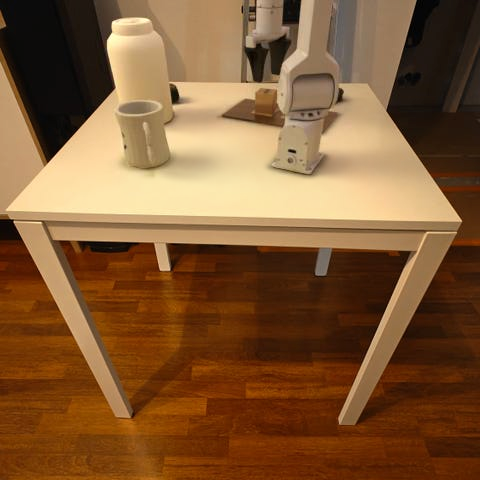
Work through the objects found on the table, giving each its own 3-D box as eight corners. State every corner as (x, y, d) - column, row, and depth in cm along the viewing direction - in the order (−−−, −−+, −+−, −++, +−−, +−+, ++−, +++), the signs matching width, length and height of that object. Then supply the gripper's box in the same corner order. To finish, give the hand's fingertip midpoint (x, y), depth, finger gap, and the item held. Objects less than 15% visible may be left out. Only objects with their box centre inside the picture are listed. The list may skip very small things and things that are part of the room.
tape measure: (155, 106, 97) (152, 90, 94) (153, 98, 102) (151, 83, 99) (180, 104, 98) (178, 88, 95) (177, 96, 103) (176, 81, 100)
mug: (123, 153, 76) (110, 102, 69) (165, 147, 78) (158, 96, 71) (132, 180, 68) (119, 125, 60) (179, 172, 70) (172, 118, 63)
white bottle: (136, 132, 84) (114, 27, 70) (115, 117, 91) (91, 18, 77) (183, 120, 89) (171, 20, 75) (159, 106, 96) (145, 13, 82)
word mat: (321, 133, 83) (321, 131, 82) (221, 116, 91) (221, 114, 90) (337, 114, 91) (337, 111, 91) (245, 100, 100) (245, 98, 99)
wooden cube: (272, 114, 90) (273, 94, 87) (254, 112, 91) (255, 92, 88) (276, 108, 93) (277, 88, 90) (259, 107, 94) (260, 87, 91)
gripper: (272, 1, 83) (269, 69, 92) (234, 9, 75) (235, 82, 84) (299, 3, 80) (293, 73, 89) (262, 11, 72) (259, 87, 81)
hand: (266, 78), depth 87 cm, fingers open, 7 cm apart
